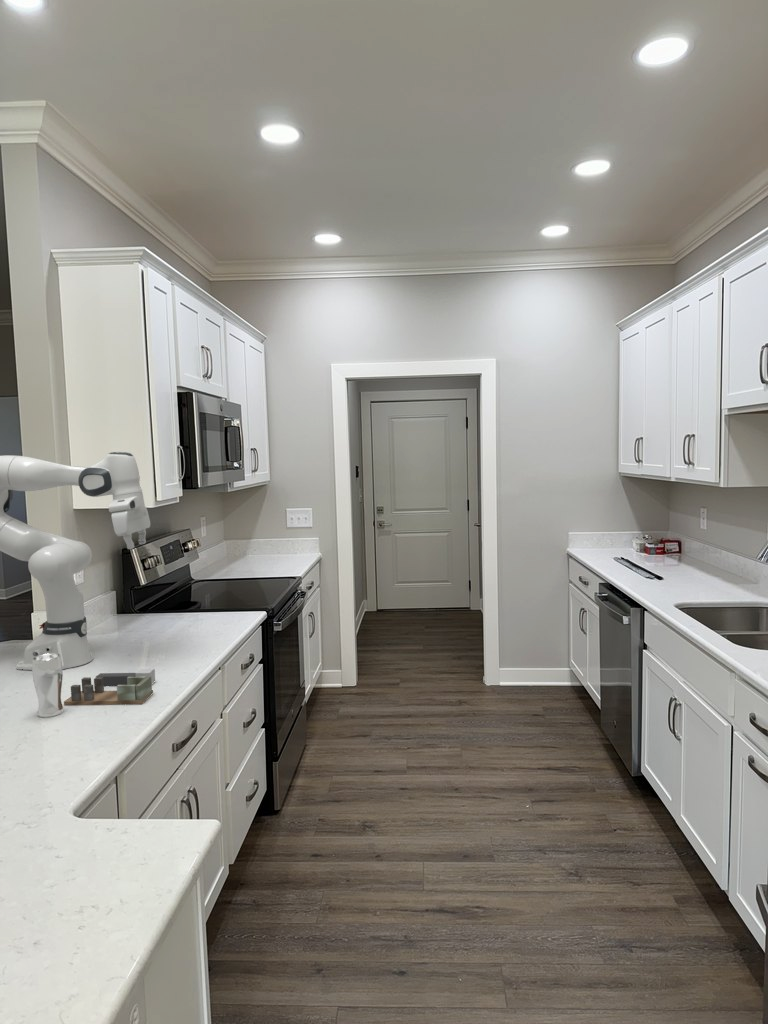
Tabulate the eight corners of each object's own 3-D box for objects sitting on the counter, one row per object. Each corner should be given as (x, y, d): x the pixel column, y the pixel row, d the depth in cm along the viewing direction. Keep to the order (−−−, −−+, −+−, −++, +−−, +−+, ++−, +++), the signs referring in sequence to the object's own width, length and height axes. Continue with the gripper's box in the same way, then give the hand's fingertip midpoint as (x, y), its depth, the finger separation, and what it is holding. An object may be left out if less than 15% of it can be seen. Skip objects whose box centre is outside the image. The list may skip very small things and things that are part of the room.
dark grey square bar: (95, 687, 196) (94, 673, 195) (101, 682, 200) (100, 669, 199) (150, 686, 195) (149, 673, 195) (155, 681, 199) (154, 668, 199)
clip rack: (64, 705, 182) (62, 687, 182) (78, 694, 190) (77, 677, 189) (141, 704, 181) (140, 686, 181) (153, 693, 189) (152, 676, 189)
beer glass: (45, 720, 172) (41, 662, 171) (30, 715, 176) (25, 658, 174) (71, 710, 178) (67, 654, 177) (55, 706, 182) (51, 651, 180)
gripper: (132, 501, 223) (139, 542, 224) (105, 507, 203) (114, 552, 204) (151, 498, 223) (158, 540, 224) (126, 504, 202) (134, 550, 204)
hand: (137, 546), depth 214 cm, fingers open, 8 cm apart
